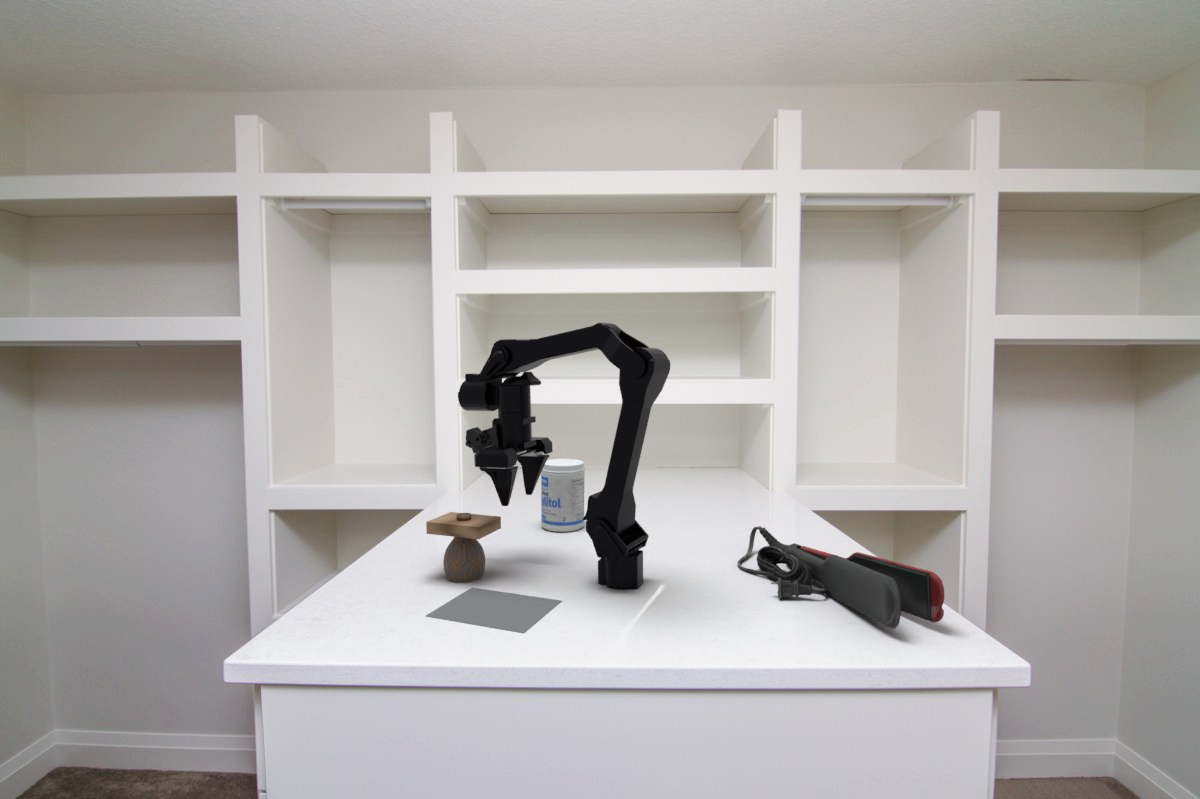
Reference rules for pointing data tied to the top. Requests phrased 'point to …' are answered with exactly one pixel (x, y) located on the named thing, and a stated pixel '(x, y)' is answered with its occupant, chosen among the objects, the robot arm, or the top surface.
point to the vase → (464, 560)
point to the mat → (495, 609)
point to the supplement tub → (562, 495)
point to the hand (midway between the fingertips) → (517, 500)
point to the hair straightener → (851, 580)
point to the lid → (463, 525)
